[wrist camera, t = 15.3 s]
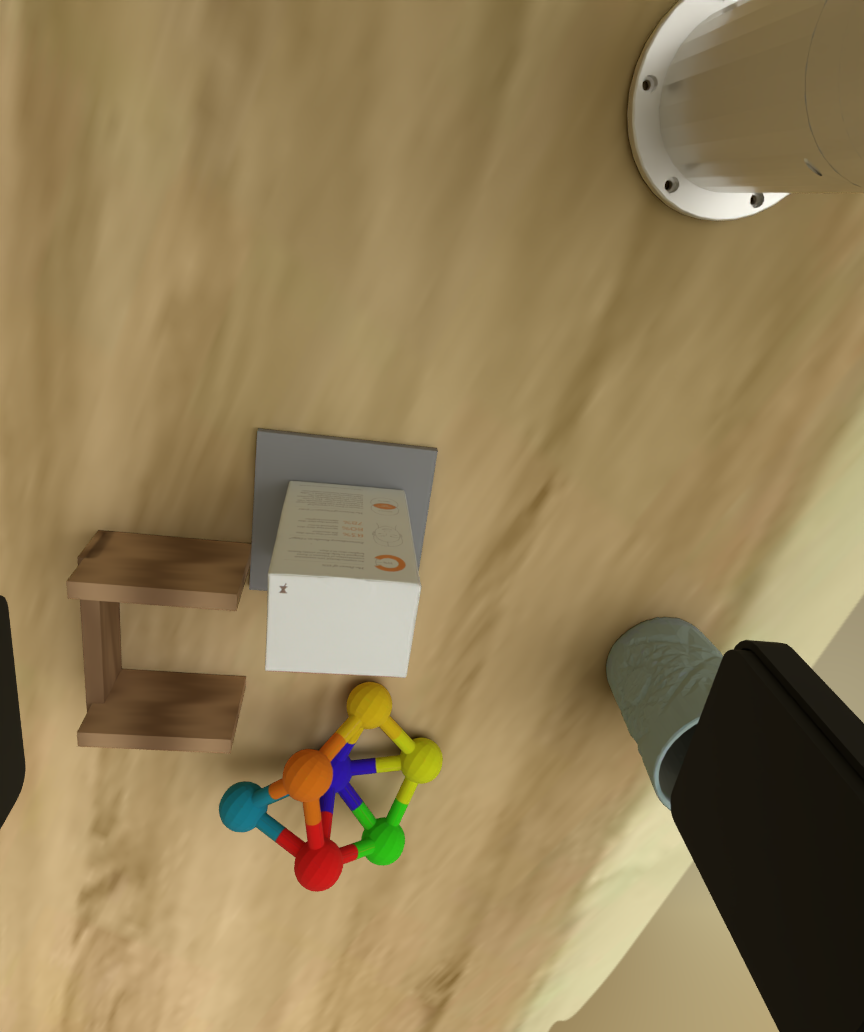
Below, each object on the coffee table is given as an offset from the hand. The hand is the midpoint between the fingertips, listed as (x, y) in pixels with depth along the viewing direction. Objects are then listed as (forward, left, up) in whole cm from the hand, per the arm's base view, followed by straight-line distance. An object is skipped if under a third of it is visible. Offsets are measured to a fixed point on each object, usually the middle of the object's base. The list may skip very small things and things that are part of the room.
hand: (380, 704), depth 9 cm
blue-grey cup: (-27, +25, -38) cm, 53 cm away
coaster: (0, +15, -38) cm, 41 cm away
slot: (+11, +24, -38) cm, 47 cm away
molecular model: (-3, +36, -39) cm, 53 cm away
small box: (0, +15, -38) cm, 41 cm away
